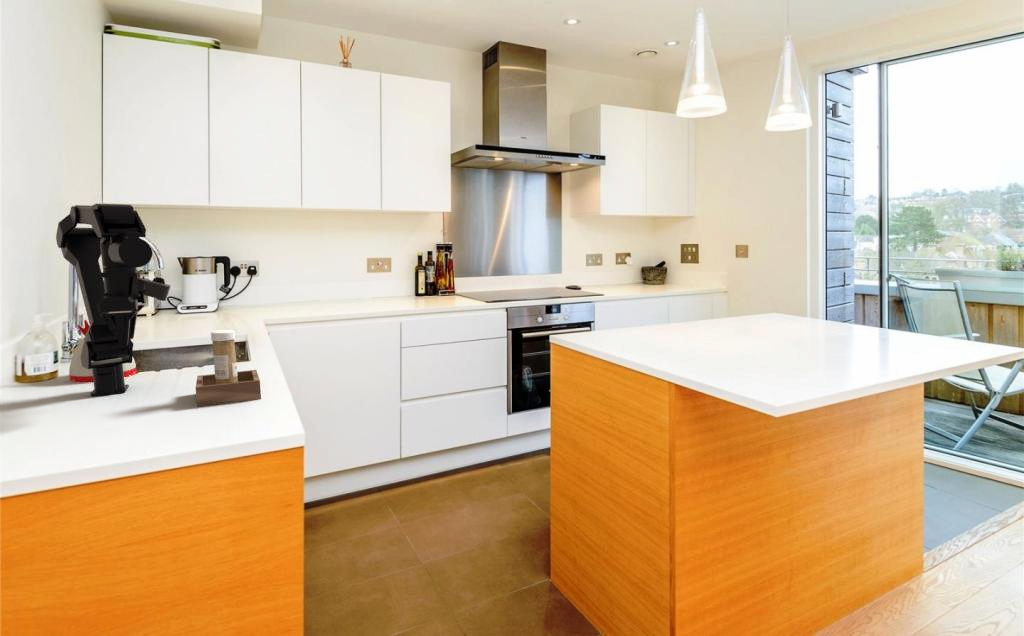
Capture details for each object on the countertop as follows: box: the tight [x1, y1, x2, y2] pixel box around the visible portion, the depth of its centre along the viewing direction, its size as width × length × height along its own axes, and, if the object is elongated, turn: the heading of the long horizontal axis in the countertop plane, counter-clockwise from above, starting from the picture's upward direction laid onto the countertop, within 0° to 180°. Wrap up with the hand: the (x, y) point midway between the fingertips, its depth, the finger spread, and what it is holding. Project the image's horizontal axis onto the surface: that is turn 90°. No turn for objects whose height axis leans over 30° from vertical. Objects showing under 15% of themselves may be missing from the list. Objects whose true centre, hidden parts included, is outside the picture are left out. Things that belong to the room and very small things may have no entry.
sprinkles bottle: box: [210, 329, 238, 384], centre depth 124 cm, size 5×5×13 cm
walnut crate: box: [195, 369, 262, 408], centre depth 125 cm, size 12×12×4 cm
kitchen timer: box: [68, 319, 138, 383], centre depth 145 cm, size 14×14×15 cm
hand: (127, 342), depth 119 cm, fingers open, 9 cm apart
